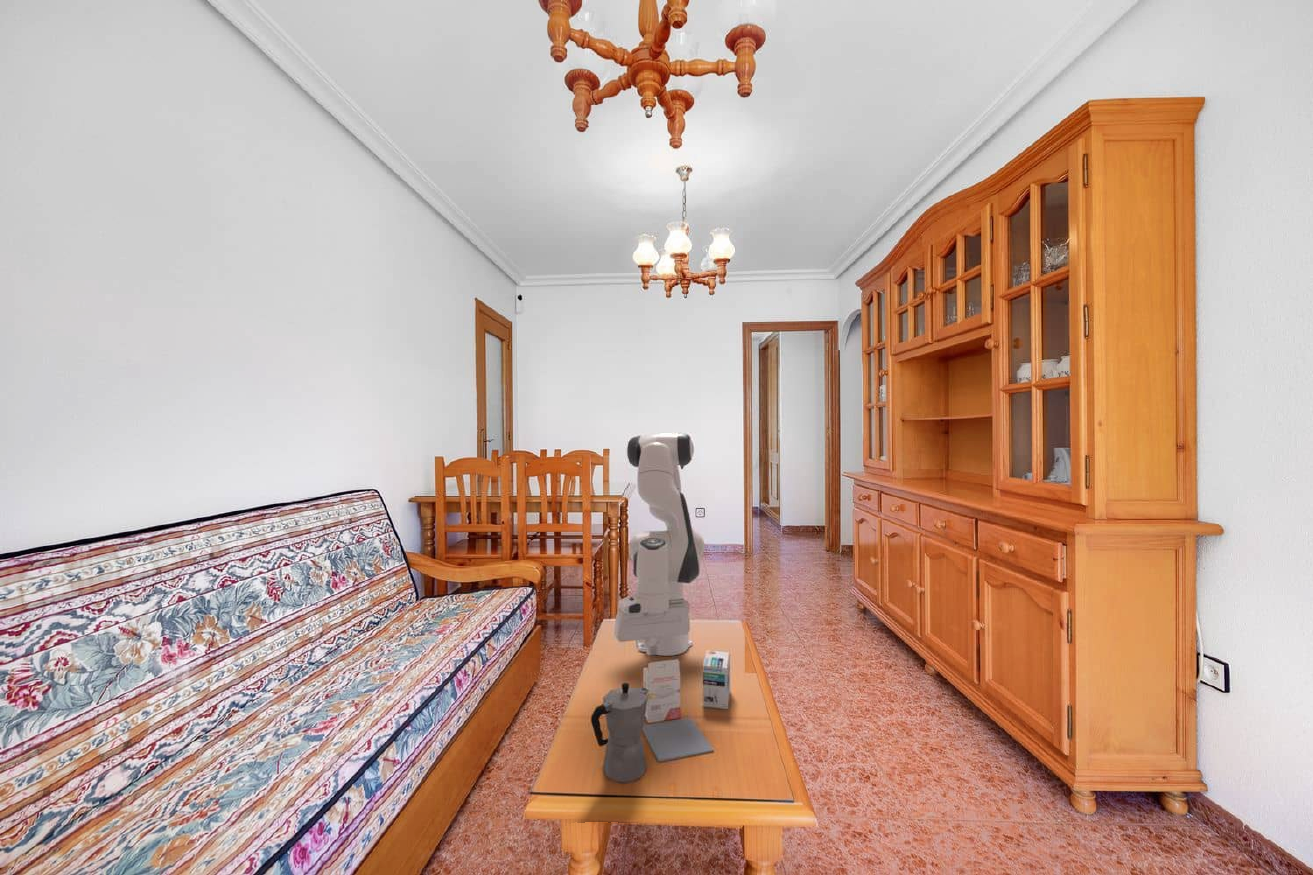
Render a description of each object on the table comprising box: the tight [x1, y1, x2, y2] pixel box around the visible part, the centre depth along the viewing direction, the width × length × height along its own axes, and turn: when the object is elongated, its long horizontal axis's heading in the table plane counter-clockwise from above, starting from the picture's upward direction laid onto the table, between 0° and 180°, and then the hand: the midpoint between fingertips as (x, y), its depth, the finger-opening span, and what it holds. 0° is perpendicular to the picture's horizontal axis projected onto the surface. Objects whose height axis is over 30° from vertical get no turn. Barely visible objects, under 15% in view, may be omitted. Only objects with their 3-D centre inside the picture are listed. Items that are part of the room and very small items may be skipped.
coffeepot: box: [590, 682, 649, 784], centre depth 108 cm, size 15×9×18 cm, turn 134°
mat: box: [641, 717, 715, 763], centre depth 119 cm, size 14×13×1 cm
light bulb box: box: [702, 650, 731, 710], centre depth 139 cm, size 11×7×11 cm, turn 168°
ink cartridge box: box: [642, 658, 681, 724], centre depth 130 cm, size 9×5×15 cm, turn 106°
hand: (652, 654), depth 136 cm, fingers closed
